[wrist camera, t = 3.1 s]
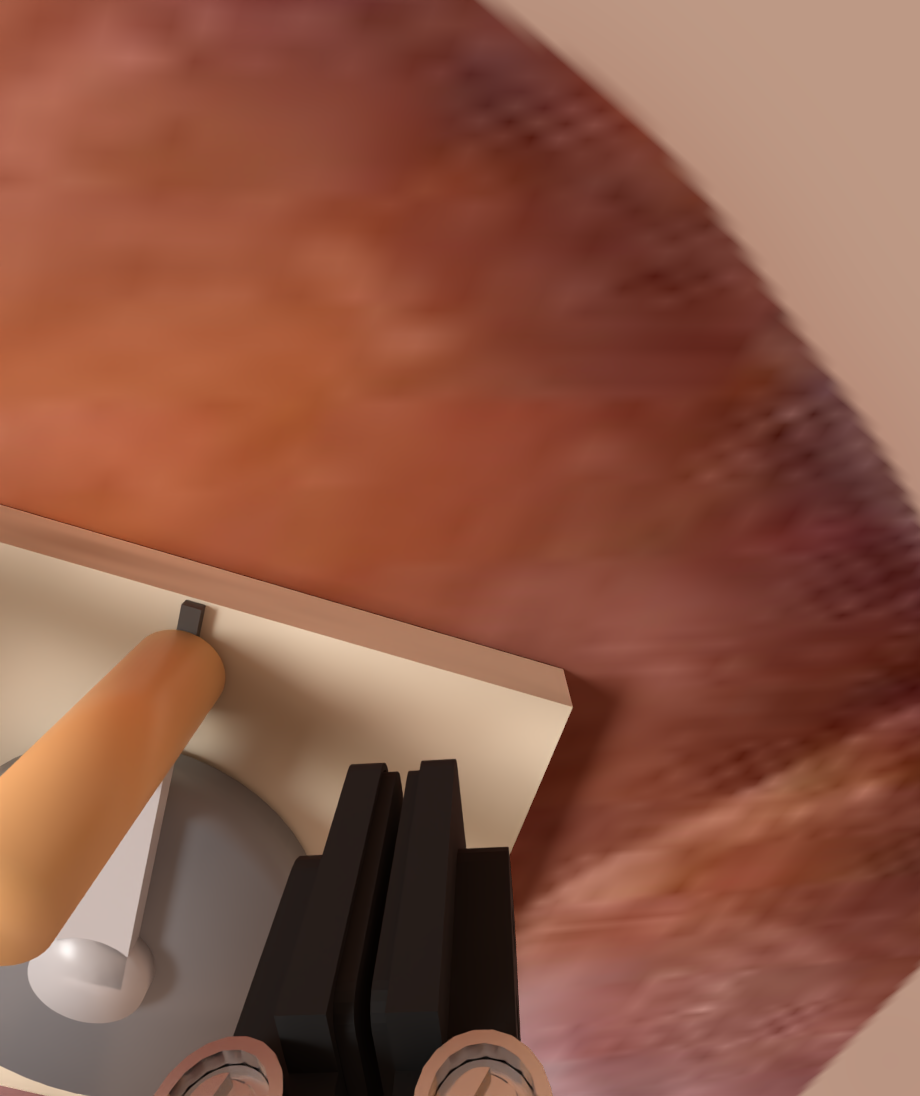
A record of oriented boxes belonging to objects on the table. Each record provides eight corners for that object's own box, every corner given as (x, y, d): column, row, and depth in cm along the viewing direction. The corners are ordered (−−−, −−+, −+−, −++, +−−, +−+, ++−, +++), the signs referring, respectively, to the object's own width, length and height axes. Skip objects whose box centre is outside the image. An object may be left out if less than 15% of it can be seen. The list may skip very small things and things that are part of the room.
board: (382, 1106, 26) (374, 1179, 23) (-150, 982, 24) (-213, 1049, 22) (563, 669, 19) (574, 713, 17) (-143, 462, 18) (-229, 482, 16)
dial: (277, 1063, 22) (185, 1410, 15) (-64, 983, 21) (-331, 1311, 14) (398, 689, 17) (347, 939, 10) (-34, 566, 16) (-409, 748, 9)
